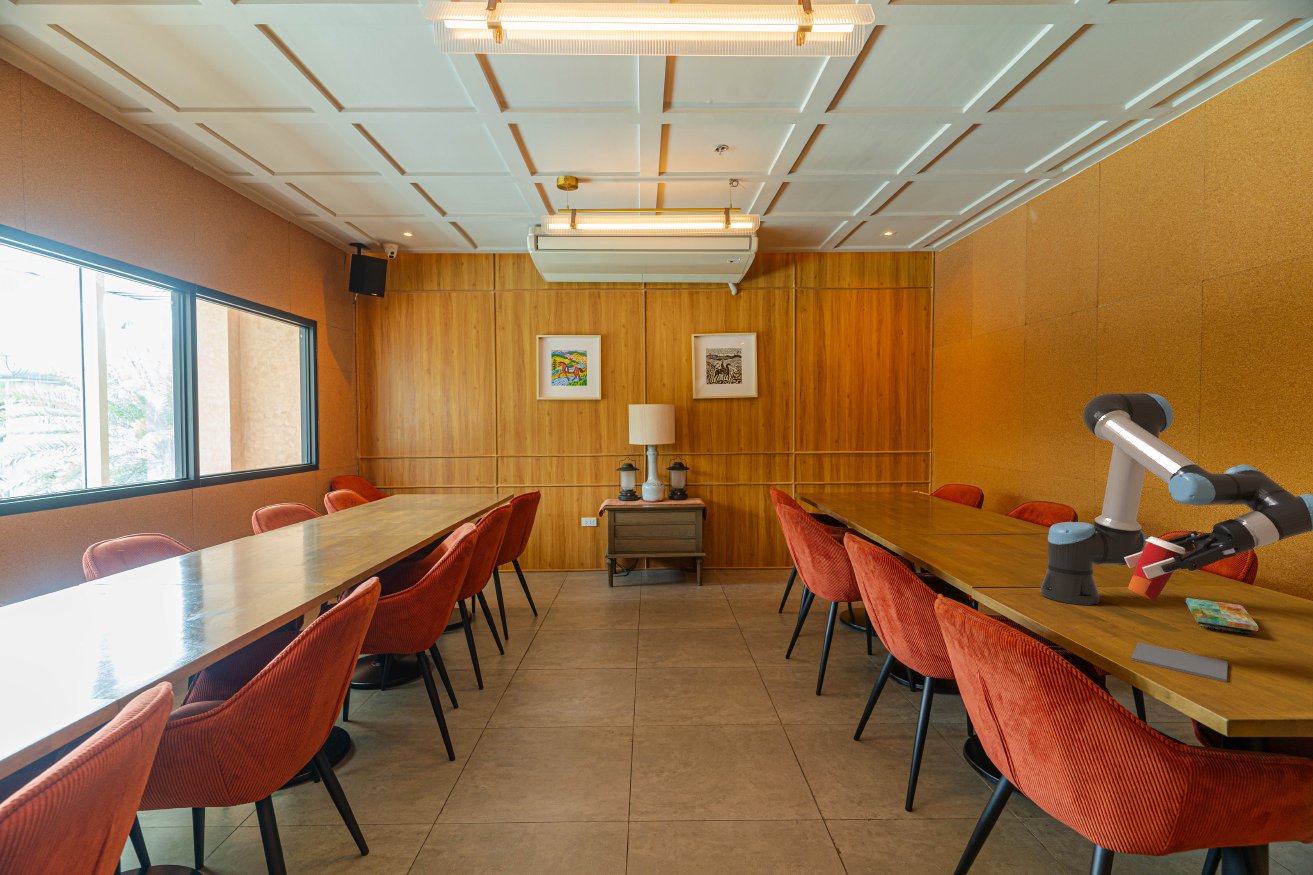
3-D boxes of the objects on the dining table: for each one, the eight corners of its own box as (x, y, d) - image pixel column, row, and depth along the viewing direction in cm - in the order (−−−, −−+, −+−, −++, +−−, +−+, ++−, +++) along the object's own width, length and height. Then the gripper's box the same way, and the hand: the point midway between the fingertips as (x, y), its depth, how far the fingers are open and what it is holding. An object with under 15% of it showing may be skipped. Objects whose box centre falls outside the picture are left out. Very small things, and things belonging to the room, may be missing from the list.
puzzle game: (1241, 602, 165) (1258, 622, 149) (1241, 618, 165) (1257, 640, 149) (1186, 594, 172) (1196, 613, 156) (1185, 610, 172) (1196, 630, 156)
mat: (1131, 659, 136) (1131, 657, 136) (1138, 644, 146) (1138, 642, 146) (1226, 682, 125) (1226, 679, 125) (1227, 663, 134) (1227, 661, 134)
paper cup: (1158, 599, 143) (1184, 547, 140) (1163, 605, 136) (1191, 551, 134) (1120, 583, 147) (1145, 533, 144) (1123, 589, 140) (1150, 536, 138)
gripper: (1285, 560, 125) (1167, 596, 131) (1221, 536, 145) (1121, 569, 151) (1269, 528, 125) (1152, 566, 131) (1207, 509, 145) (1108, 542, 151)
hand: (1136, 567), depth 141 cm, fingers closed on paper cup, 8 cm apart
